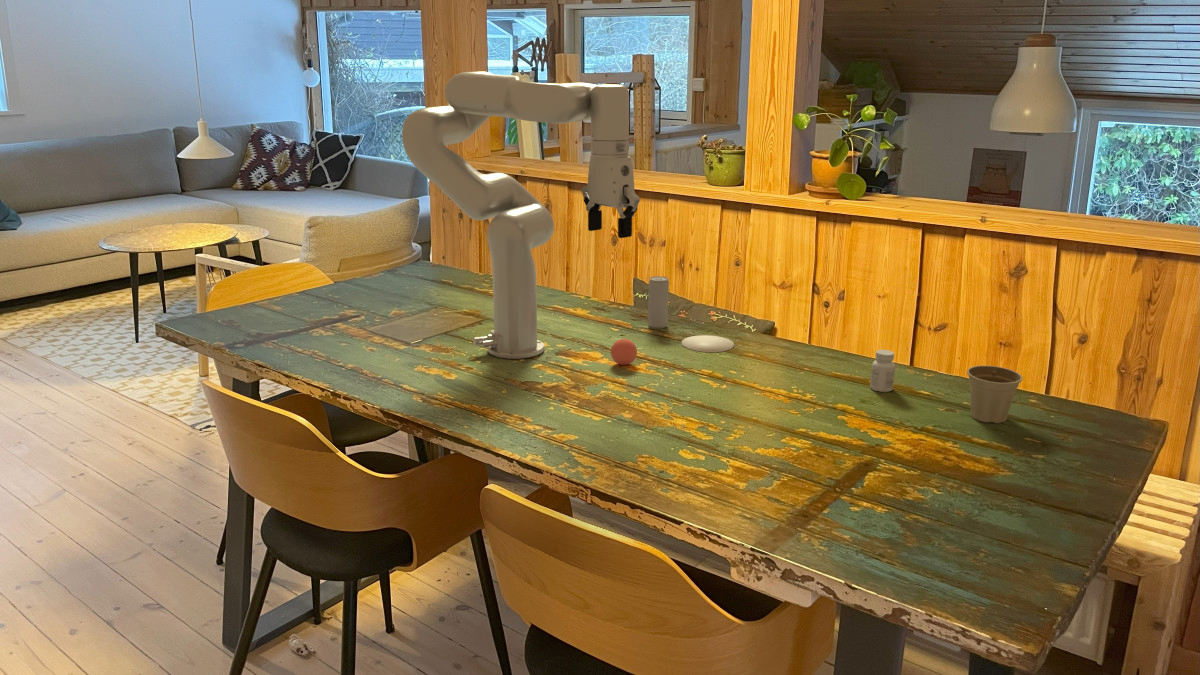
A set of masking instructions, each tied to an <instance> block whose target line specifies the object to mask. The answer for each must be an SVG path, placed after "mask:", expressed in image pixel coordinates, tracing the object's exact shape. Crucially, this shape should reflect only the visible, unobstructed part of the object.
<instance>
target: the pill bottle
mask: <svg viewBox="0 0 1200 675" xmlns="http://www.w3.org/2000/svg"><path fill="white" fill-rule="evenodd" d="M894 359H895V353H894V352H893V351H892V350H887V349H879V350H876V351H875V360H874V361H873V362H872V364H871V375H870V384H869V387H870V388H871V389H872V390H873V391H875V392H878V391H879V392H880V393H888V392H889V393H890V392H891V391H893V389H894V388H893V387H894V380H895V370H896V365H895V363H894V362H893V361H894Z"/></svg>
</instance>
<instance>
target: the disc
mask: <svg viewBox="0 0 1200 675" xmlns="http://www.w3.org/2000/svg"><path fill="white" fill-rule="evenodd" d="M681 345H682V347H684V348H686V349H687V350H691V351H695V352H703V353H721V352H726V351H729V350H732V349H733V348H734V347H735V343H734V341H733V340H731V339H729V338H726V337H722V336H719V335H694V336H689V337H685V338H684V339H682V341H681Z"/></svg>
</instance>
